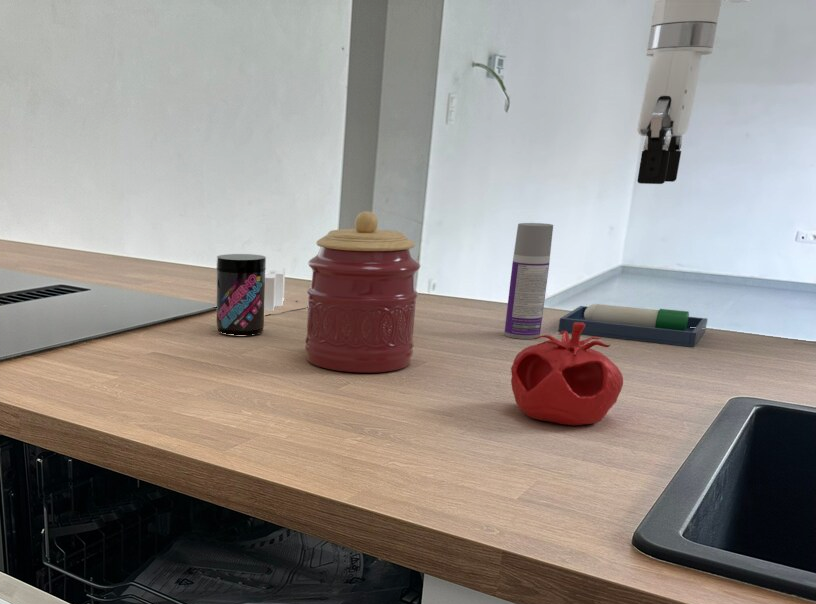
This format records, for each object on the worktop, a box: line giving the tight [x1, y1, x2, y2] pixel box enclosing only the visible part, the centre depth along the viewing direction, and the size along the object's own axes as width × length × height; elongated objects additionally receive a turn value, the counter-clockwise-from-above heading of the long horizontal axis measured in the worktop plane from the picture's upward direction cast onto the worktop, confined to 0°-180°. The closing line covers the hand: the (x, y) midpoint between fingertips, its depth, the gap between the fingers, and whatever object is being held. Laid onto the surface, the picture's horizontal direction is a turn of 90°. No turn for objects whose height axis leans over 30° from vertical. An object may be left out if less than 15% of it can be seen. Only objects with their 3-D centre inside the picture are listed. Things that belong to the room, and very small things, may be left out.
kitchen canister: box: [304, 210, 421, 374], centre depth 102 cm, size 13×13×18 cm
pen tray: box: [558, 305, 708, 348], centre depth 122 cm, size 17×12×2 cm
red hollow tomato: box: [510, 322, 624, 426], centre depth 82 cm, size 10×10×9 cm
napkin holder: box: [264, 267, 286, 311], centre depth 139 cm, size 15×11×6 cm
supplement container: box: [215, 253, 267, 335], centre depth 119 cm, size 7×7×10 cm
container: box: [504, 222, 554, 340], centre depth 117 cm, size 5×5×15 cm
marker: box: [584, 303, 690, 331], centre depth 121 cm, size 13×3×3 cm, turn 55°
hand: (656, 182), depth 115 cm, fingers open, 9 cm apart
